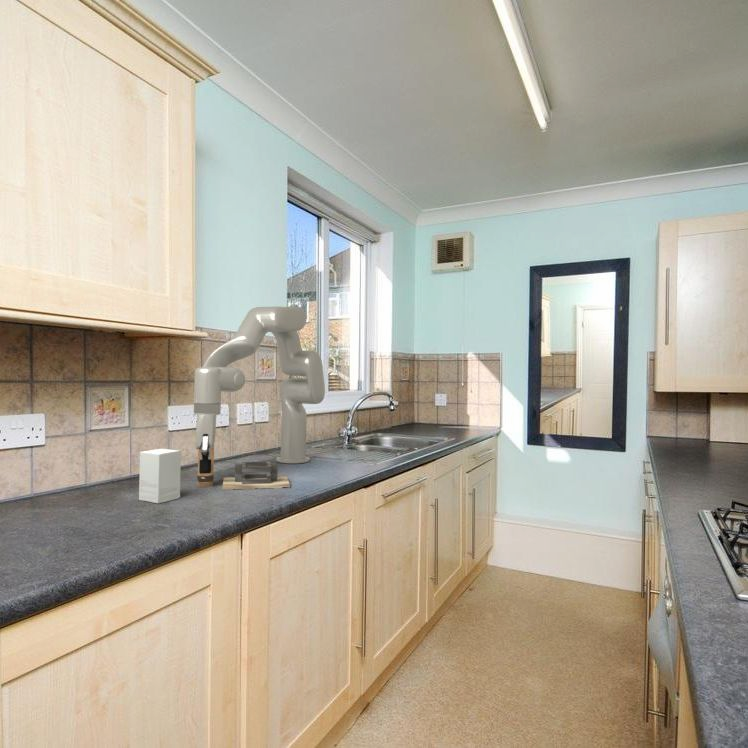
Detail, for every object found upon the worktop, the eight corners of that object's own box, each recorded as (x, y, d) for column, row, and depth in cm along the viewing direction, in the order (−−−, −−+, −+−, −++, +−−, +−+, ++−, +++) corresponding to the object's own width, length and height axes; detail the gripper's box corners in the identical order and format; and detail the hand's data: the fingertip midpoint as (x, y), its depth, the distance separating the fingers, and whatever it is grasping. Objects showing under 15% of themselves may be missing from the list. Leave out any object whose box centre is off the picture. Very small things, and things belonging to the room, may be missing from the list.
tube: (197, 484, 149) (198, 443, 149) (214, 483, 150) (215, 443, 150) (196, 487, 145) (197, 446, 145) (213, 487, 146) (214, 445, 146)
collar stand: (223, 480, 155) (224, 461, 155) (285, 478, 160) (286, 459, 160) (222, 490, 143) (222, 469, 143) (290, 487, 148) (290, 467, 148)
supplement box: (181, 498, 133) (182, 450, 133) (157, 504, 126) (158, 454, 126) (161, 494, 136) (162, 447, 136) (137, 500, 130) (138, 451, 130)
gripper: (196, 407, 155) (194, 466, 155) (191, 411, 138) (189, 477, 138) (221, 407, 157) (220, 466, 157) (219, 411, 140) (217, 477, 140)
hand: (205, 470), depth 148 cm, fingers closed on tube, 4 cm apart
